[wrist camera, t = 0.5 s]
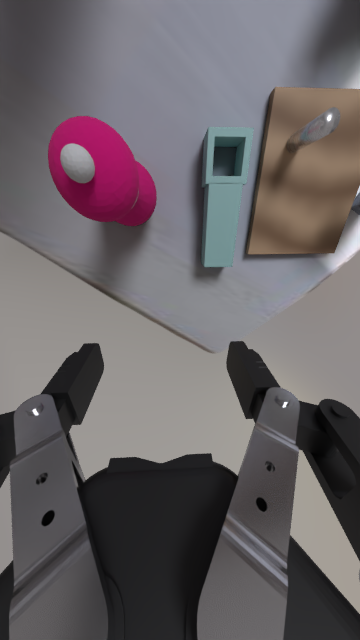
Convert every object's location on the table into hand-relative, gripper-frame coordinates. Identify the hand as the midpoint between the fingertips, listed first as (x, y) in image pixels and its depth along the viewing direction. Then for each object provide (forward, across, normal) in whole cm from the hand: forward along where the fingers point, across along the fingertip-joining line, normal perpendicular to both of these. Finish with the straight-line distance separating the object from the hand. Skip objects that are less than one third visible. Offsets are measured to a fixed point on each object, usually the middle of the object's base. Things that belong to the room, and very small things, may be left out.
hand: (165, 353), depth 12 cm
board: (+24, -21, -12) cm, 34 cm away
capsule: (+24, -17, -16) cm, 34 cm away
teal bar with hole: (+24, -8, -9) cm, 27 cm away
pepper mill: (+24, +5, -10) cm, 27 cm away
